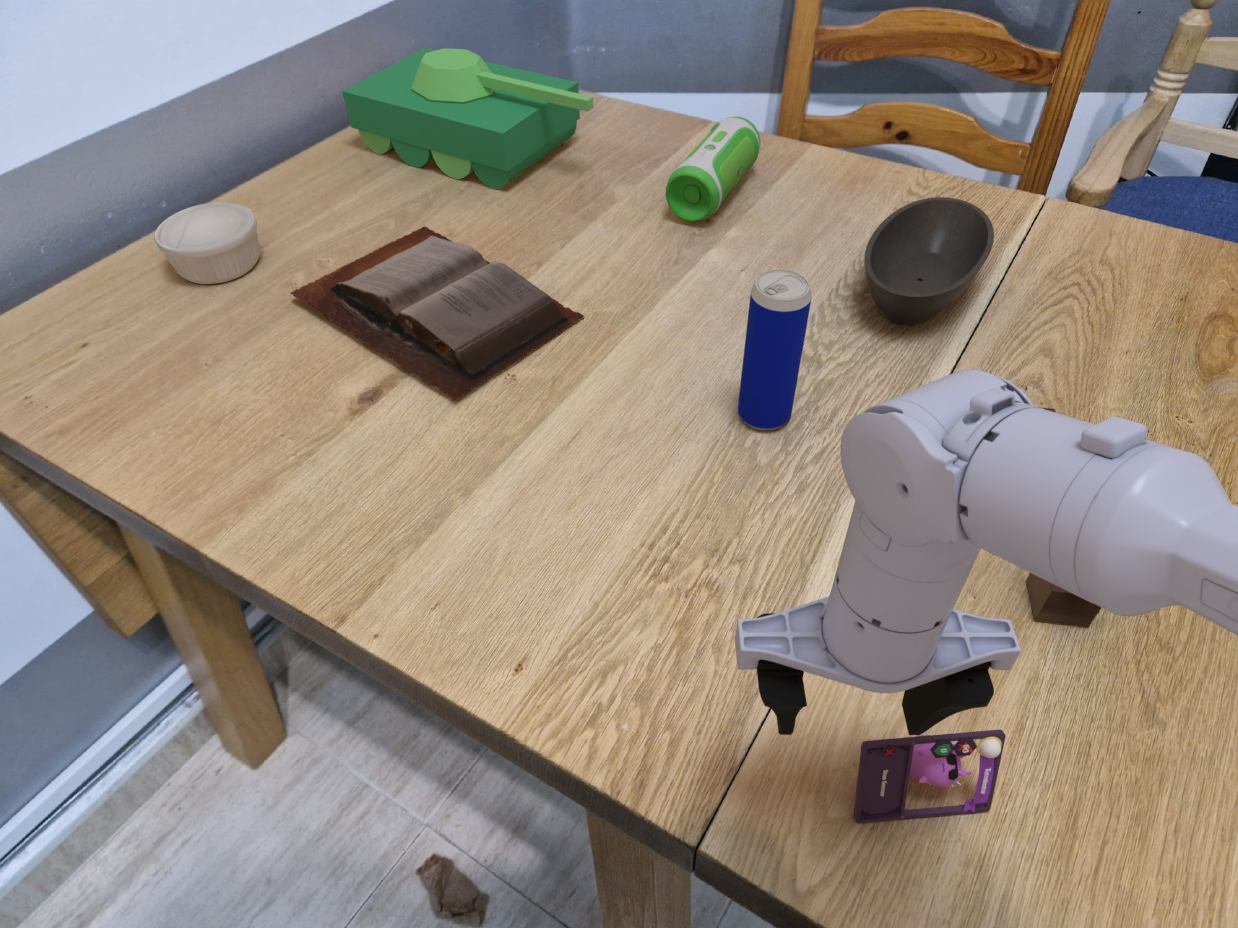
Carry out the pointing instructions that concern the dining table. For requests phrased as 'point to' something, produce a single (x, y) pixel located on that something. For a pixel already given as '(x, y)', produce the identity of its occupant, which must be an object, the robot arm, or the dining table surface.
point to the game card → (923, 773)
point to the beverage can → (773, 348)
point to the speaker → (713, 169)
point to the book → (439, 309)
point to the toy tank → (465, 114)
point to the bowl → (926, 257)
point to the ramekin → (210, 242)
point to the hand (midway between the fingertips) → (846, 719)
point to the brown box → (1059, 604)
